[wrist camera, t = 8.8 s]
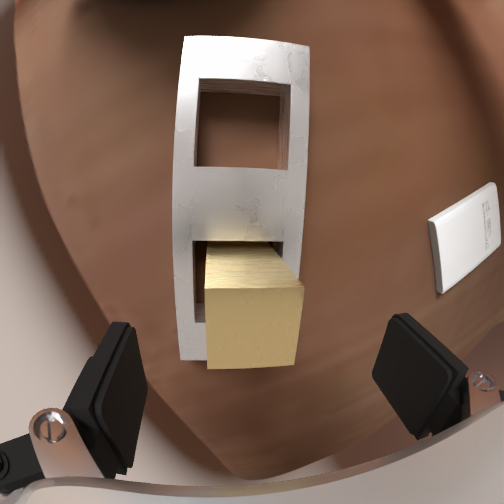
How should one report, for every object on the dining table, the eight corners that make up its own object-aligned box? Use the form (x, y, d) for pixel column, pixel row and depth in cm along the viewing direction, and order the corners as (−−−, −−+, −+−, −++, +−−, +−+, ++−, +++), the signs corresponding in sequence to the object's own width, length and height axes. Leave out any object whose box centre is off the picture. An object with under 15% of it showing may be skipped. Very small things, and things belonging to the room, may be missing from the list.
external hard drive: (423, 218, 22) (487, 181, 23) (433, 289, 25) (493, 243, 25) (435, 222, 21) (496, 182, 21) (443, 295, 23) (501, 246, 24)
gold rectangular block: (207, 239, 20) (204, 288, 11) (265, 239, 20) (304, 286, 12) (207, 293, 21) (207, 369, 12) (262, 293, 21) (293, 364, 13)
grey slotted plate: (187, 54, 16) (184, 36, 13) (296, 61, 17) (309, 46, 14) (183, 338, 22) (180, 360, 19) (280, 336, 23) (288, 356, 20)
